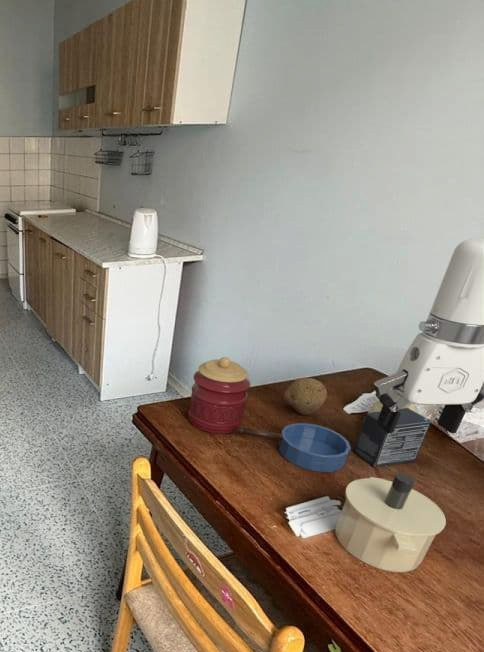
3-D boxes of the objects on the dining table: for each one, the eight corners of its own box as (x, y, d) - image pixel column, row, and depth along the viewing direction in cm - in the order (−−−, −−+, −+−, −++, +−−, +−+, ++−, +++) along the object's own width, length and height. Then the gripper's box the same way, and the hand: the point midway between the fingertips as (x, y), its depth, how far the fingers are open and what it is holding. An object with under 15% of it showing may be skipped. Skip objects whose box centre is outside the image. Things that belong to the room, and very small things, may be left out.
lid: (426, 492, 83) (440, 461, 80) (457, 549, 71) (476, 516, 68) (337, 476, 87) (347, 447, 84) (353, 527, 76) (366, 496, 73)
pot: (402, 517, 88) (419, 481, 84) (438, 594, 74) (460, 555, 70) (327, 502, 92) (339, 468, 88) (345, 573, 78) (361, 535, 74)
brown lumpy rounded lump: (280, 417, 121) (289, 382, 116) (281, 402, 128) (289, 368, 123) (320, 425, 117) (331, 389, 112) (319, 408, 124) (329, 374, 119)
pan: (338, 443, 110) (343, 428, 108) (350, 477, 99) (356, 462, 97) (275, 433, 114) (279, 419, 112) (280, 465, 103) (285, 450, 101)
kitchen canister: (203, 438, 113) (215, 372, 105) (178, 411, 124) (187, 349, 116) (251, 431, 115) (267, 365, 107) (222, 405, 126) (234, 344, 118)
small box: (391, 445, 109) (407, 406, 104) (416, 462, 103) (434, 421, 98) (351, 450, 107) (365, 411, 102) (373, 468, 102) (390, 427, 97)
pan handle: (282, 438, 108) (284, 432, 107) (283, 442, 107) (284, 436, 106) (237, 431, 111) (239, 425, 110) (237, 434, 110) (239, 429, 109)
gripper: (414, 339, 65) (374, 442, 73) (543, 337, 64) (489, 441, 72) (380, 320, 72) (347, 417, 80) (497, 319, 71) (452, 416, 79)
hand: (414, 428), depth 76 cm, fingers open, 9 cm apart
